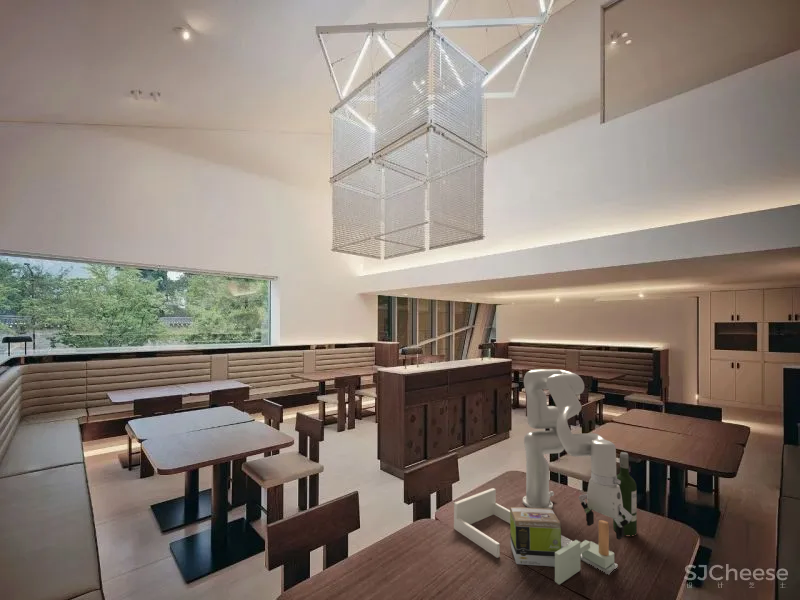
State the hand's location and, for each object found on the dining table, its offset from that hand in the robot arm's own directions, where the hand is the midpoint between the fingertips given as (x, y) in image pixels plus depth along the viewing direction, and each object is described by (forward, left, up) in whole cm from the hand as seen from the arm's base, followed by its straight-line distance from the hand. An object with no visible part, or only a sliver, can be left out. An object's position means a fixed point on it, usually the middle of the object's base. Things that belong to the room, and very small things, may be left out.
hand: (604, 531), depth 127 cm
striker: (+9, -2, -11) cm, 15 cm away
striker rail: (0, -17, -12) cm, 21 cm away
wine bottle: (-28, -6, -12) cm, 31 cm away
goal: (+15, -33, -12) cm, 38 cm away
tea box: (+15, -16, -12) cm, 25 cm away
